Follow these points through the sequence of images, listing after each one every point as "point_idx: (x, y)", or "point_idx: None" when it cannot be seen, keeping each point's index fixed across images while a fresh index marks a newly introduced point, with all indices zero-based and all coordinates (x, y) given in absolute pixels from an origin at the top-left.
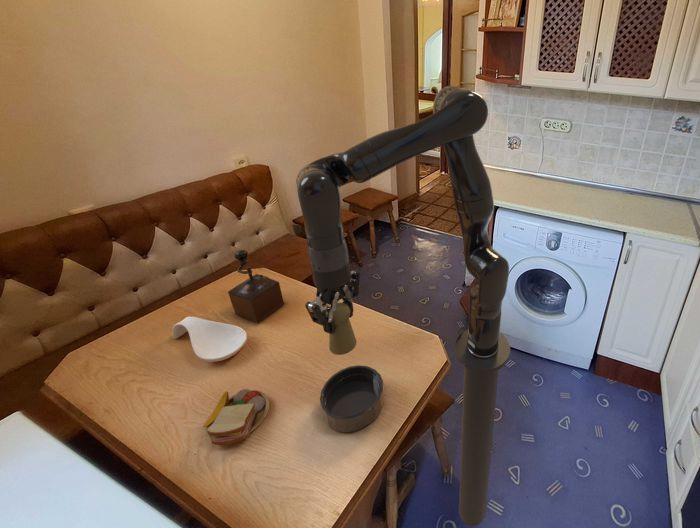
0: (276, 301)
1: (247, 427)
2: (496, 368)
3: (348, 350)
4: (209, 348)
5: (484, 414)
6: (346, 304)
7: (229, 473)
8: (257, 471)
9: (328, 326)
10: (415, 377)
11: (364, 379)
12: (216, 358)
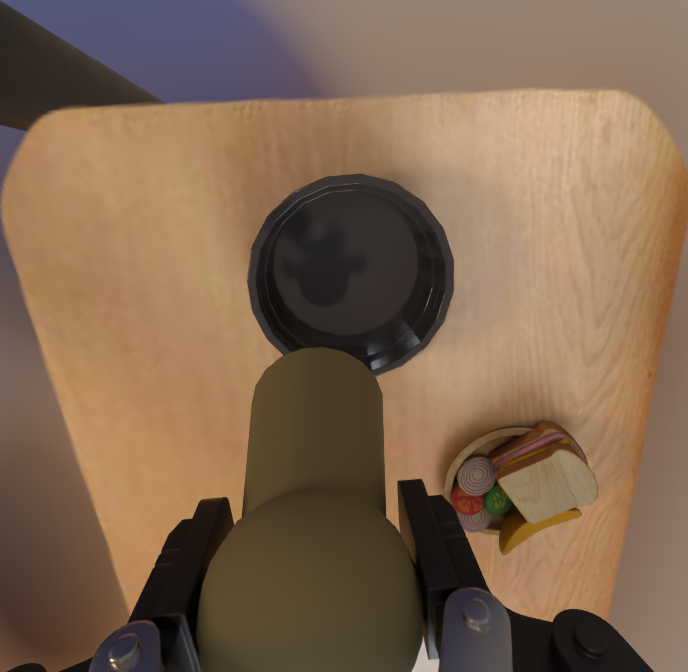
0: None
1: (537, 440)
2: None
3: (340, 356)
4: (418, 668)
5: (91, 58)
6: (192, 639)
7: (602, 387)
8: (580, 341)
9: (464, 555)
10: (162, 162)
11: (275, 302)
12: None
